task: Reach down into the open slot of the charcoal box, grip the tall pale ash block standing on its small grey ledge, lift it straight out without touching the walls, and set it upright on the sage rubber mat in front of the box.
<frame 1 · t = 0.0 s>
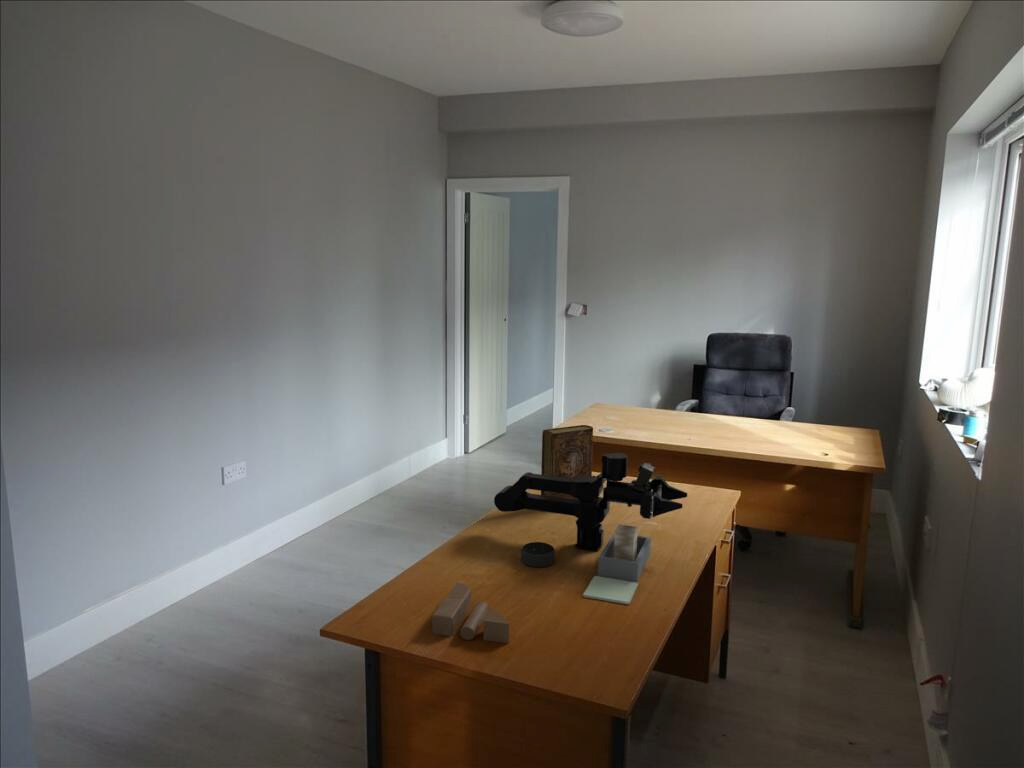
hand: (684, 500, 200), 17 cm above the table, fingers open, 9 cm apart
smart speaker: (537, 562, 202), on the table
wooden block set: (479, 622, 170), on the table
ash block: (625, 557, 199), point 2 cm above the table, touching slotted box
slotted box: (624, 565, 200), on the table
book: (567, 505, 245), on the table
sage mat: (611, 590, 185), on the table
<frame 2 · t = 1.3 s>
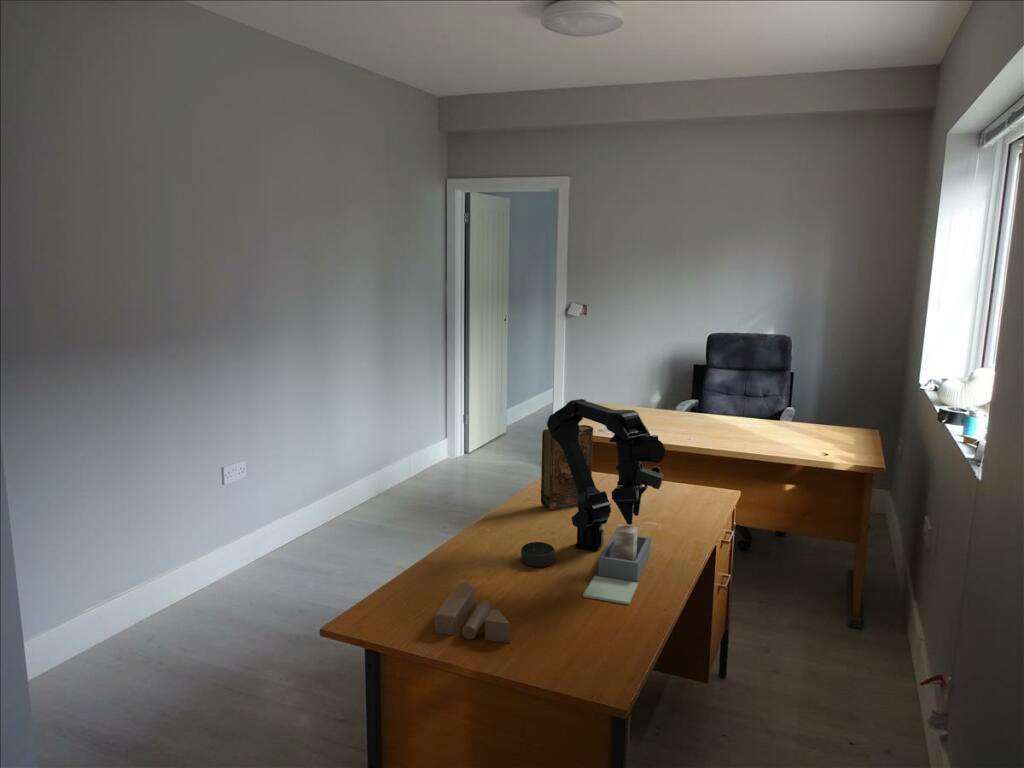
hand: (633, 519, 197), 13 cm above the table, fingers open, 9 cm apart
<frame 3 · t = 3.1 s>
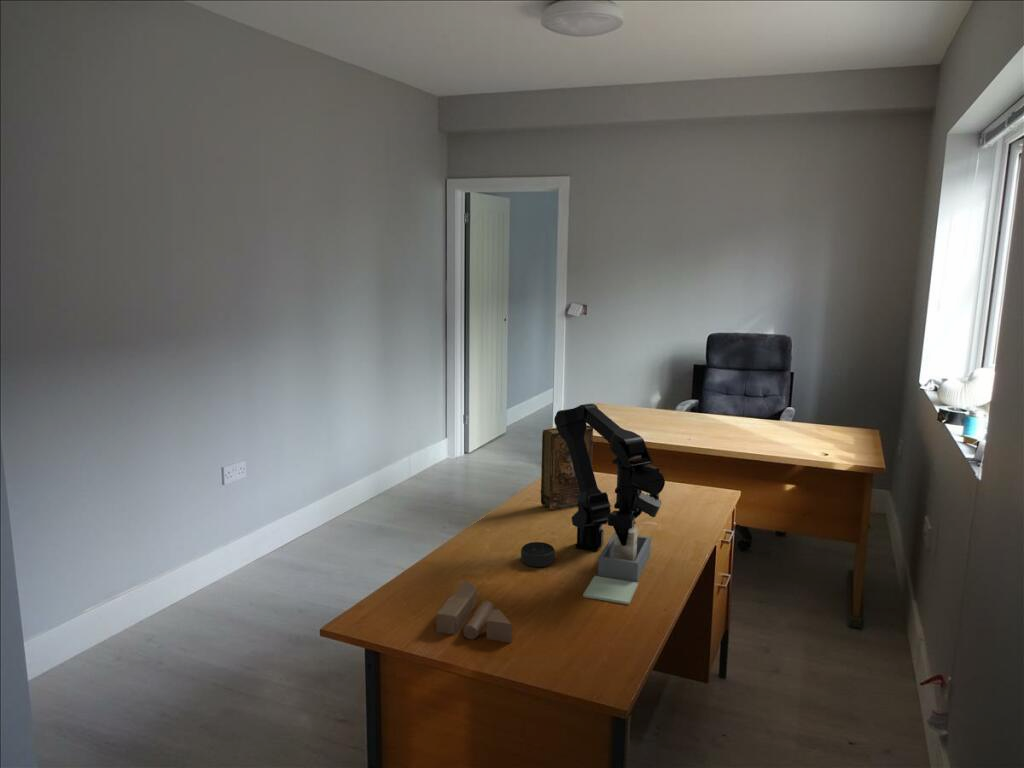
hand: (625, 541, 198), 7 cm above the table, fingers closed on ash block, 5 cm apart
ash block: (625, 557, 199), point 2 cm above the table, touching gripper, slotted box
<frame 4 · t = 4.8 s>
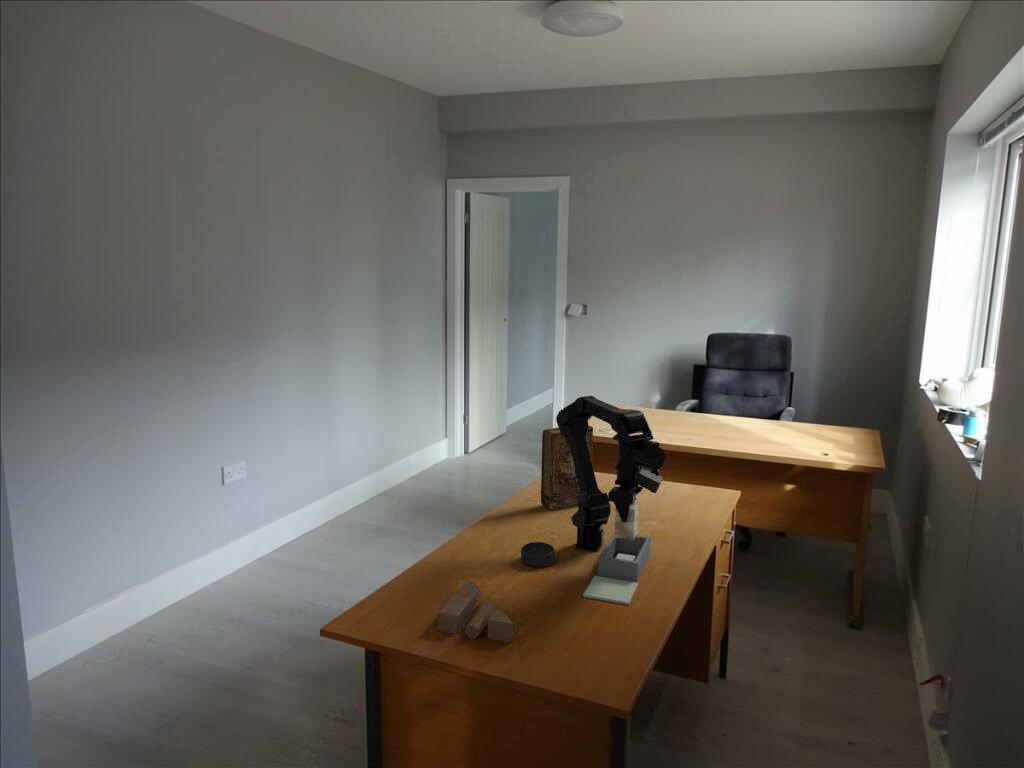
hand: (626, 518, 197), 13 cm above the table, fingers closed on ash block, 5 cm apart
ash block: (625, 535, 197), point 9 cm above the table, touching gripper
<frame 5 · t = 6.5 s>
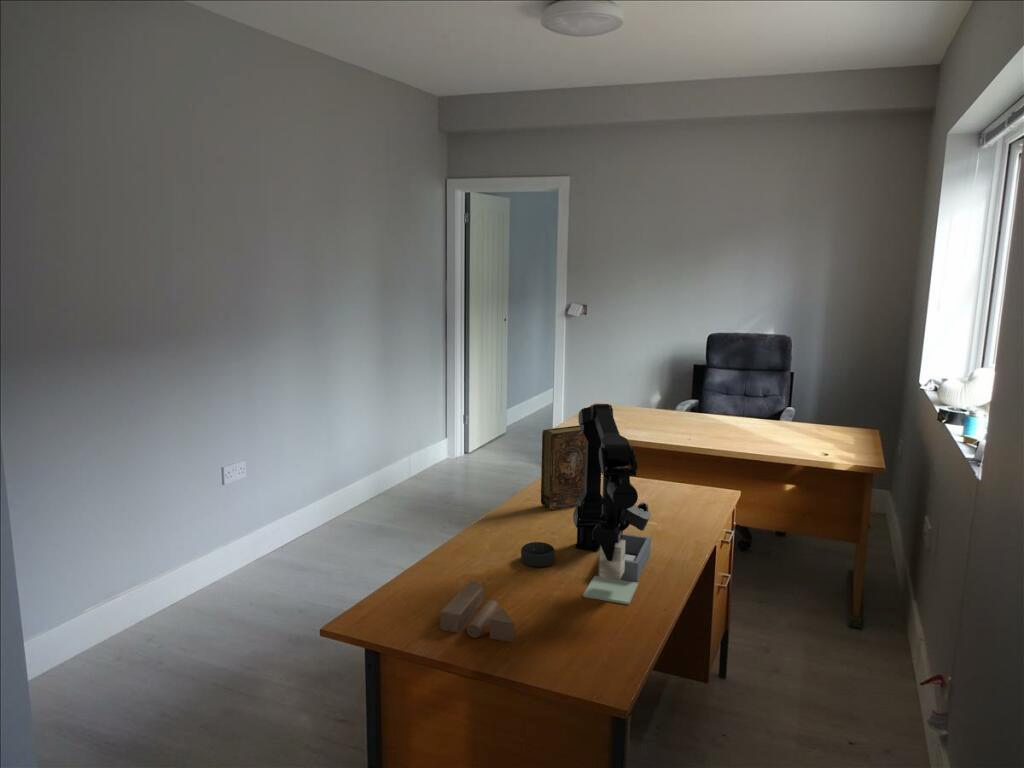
hand: (612, 556, 183), 9 cm above the table, fingers closed on ash block, 5 cm apart
ash block: (611, 573, 184), point 4 cm above the table, touching gripper
when the fingers open (7 cm above the table, at t = 7.3 s): ash block drops 2 cm, resting on sage mat.
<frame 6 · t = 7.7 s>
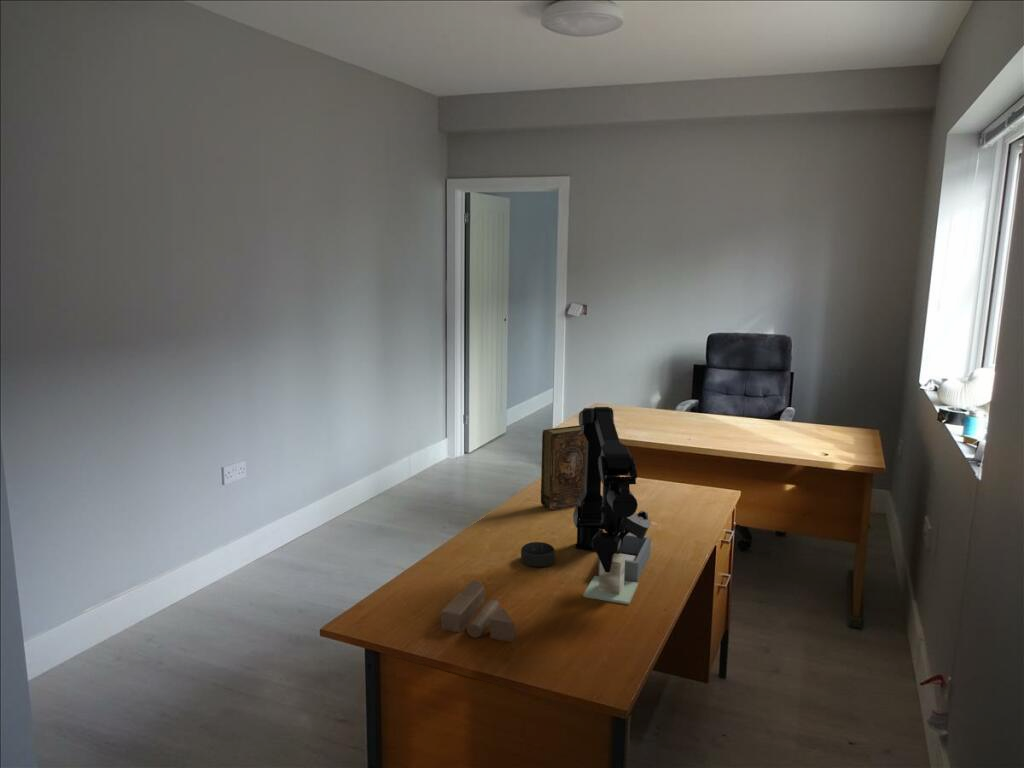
hand: (612, 564, 184), 7 cm above the table, fingers open, 9 cm apart
ash block: (611, 588, 185), point 1 cm above the table, touching sage mat
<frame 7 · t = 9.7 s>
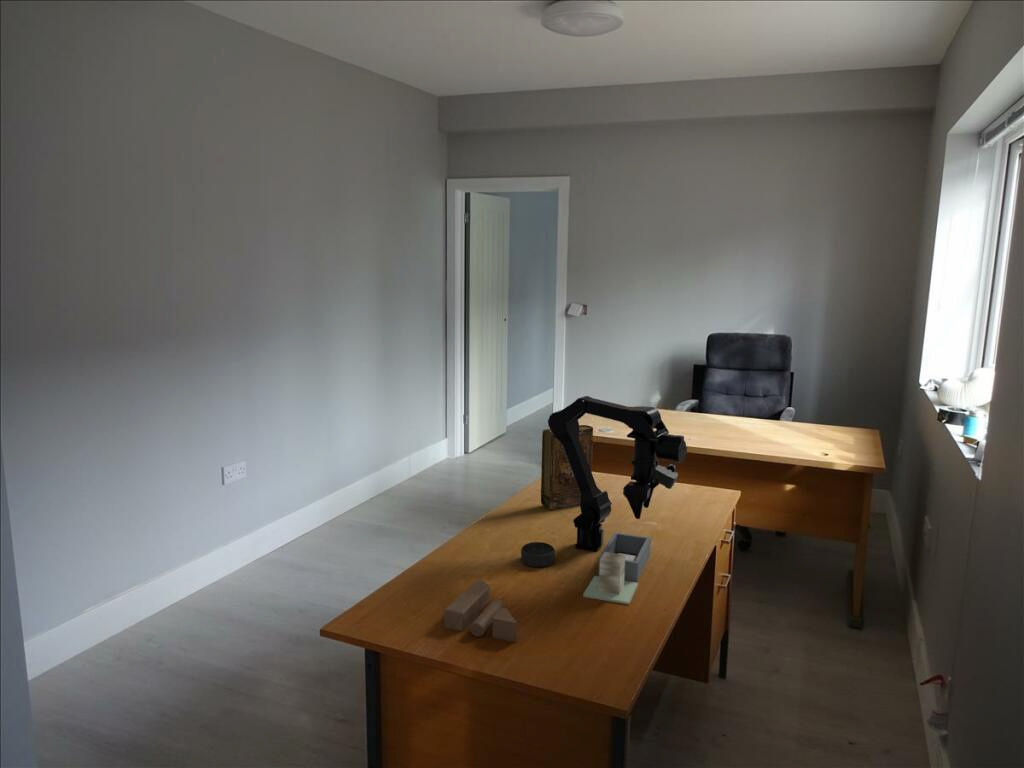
hand: (642, 513, 201), 13 cm above the table, fingers open, 9 cm apart
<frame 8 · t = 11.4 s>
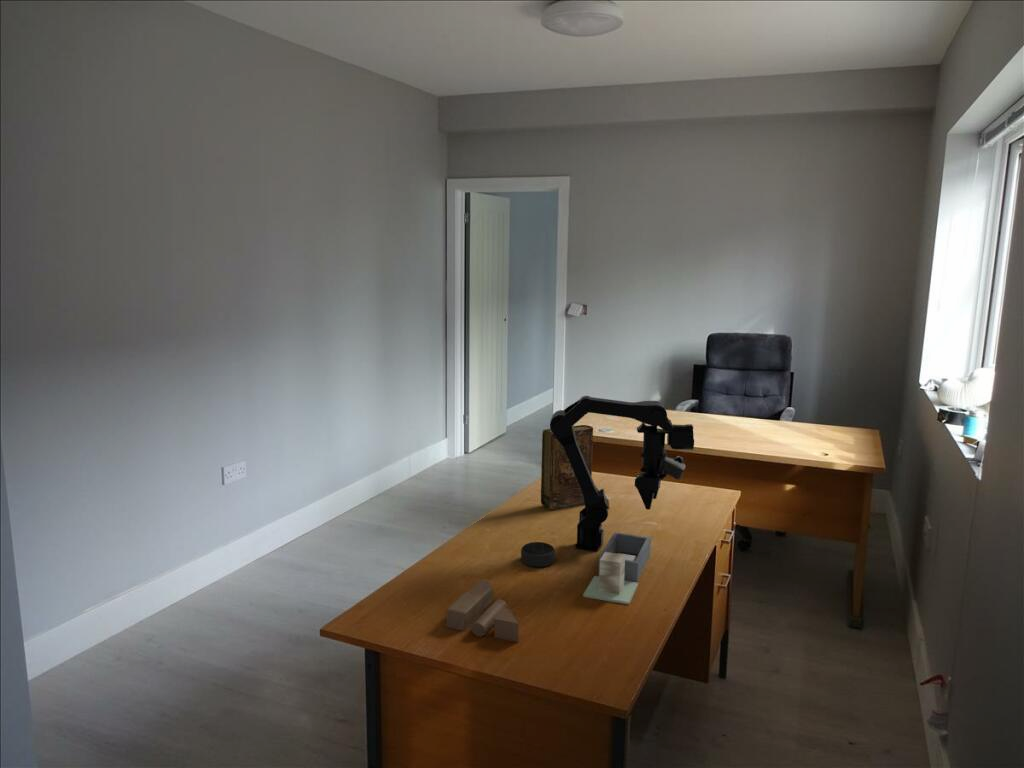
hand: (651, 503, 208), 13 cm above the table, fingers open, 9 cm apart
at the end: ash block inside the target area on the sage mat (0.1 cm from its centre), point 0.6 cm above the sage mat's base; ash block tilted 0°; ash block touching sage mat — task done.
